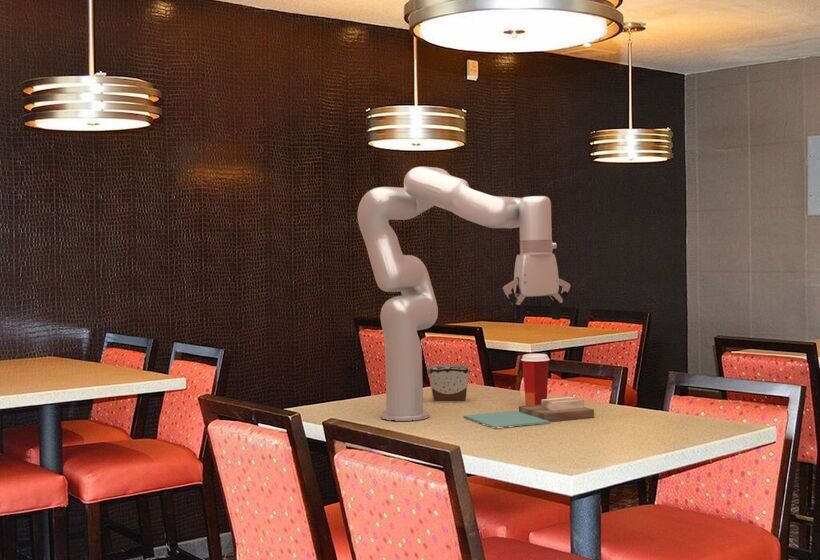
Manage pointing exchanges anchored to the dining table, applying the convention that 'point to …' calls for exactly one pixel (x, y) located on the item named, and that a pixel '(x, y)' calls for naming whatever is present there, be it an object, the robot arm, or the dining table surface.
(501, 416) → the mat
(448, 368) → the food container
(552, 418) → the block
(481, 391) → the dining table surface
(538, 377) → the paper cup
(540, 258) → the robot arm
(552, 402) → the beige flat block
